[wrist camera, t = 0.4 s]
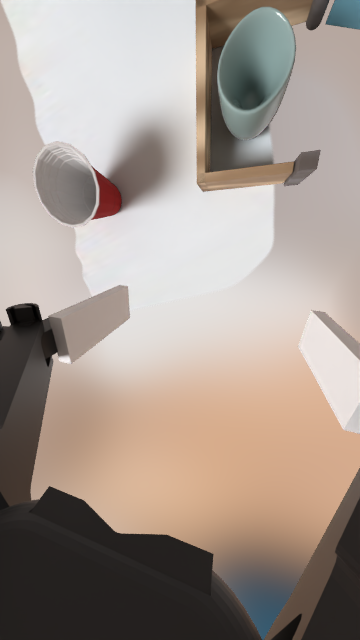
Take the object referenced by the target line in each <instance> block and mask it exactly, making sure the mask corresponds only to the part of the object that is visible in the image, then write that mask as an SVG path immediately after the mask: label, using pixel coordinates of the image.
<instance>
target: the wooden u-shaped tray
mask: <svg viewBox="0 0 360 640" xmlns="http://www.w3.org/2000/svg"><path fill="white" fill-rule="evenodd" d="M328 3H329V0H196V121H197V184H198V186H199V187H200V188H201V190H202V191H203V192H204V191H213V190H223V189H232V188H242V187H252V186H261V185H271V184H280V183H284V182H285V183H284V186H289V185H298V184H299V183H300V182H301V181H303V180H304V179H305V178H306V177H307V176H309V175H310V174H311V173H312V172H313V171H315V170H316V169H317V165H318V160H319V155H320V150H316V151H310V152H302V153H301V154H300V155H299V156H298V158H297V159H296V160H295V161H294V162H288V163H279V164H271V165H263V166H256V167H248V168H240V169H232V170H225V171H217V172H210V145H211V80H212V49H213V48H217V47H220V46H224V45H225V43H226V41H227V39H228V38H229V36H230V34H231V33H232V31H233V30H234V28H235V27H236V26H237V24H238V23H239V22H240V21H241V20H242V19H243V18H244V17H245V16H246V15H248V14H249V13H250V12H252V11H253V10H255V9H258V8H260V7H272V8H275V9H277V10H279V11H280V12H282V13H283V14H284V15H285V16H286V18H287V19H288V20H289V22H290V24H291V26H293V25H296V24H299V23H303V22H306V26H307V28H308V29H309V30H314V29H316V28H317V27H318V26H319V24H320V22H321V20H322V18H323V15H324V13H325V10H326V8H327V5H328Z"/></svg>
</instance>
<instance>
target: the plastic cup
mask: <svg viewBox="0 0 360 640" xmlns="http://www.w3.org/2000/svg"><path fill="white" fill-rule="evenodd" d="M33 176H34V185H35V190H36V192H37V195H38V197H39V200H40V203H41V204H42V206H43V207H44V208H45V210H46V211H47V212H48V214H49V215H50V216H51V217H52V218H53V219H55V220H56V221H57V222H59V223H60V224H62V225H66V226H69V227H73V228H74V227H79V226H83V225H86V224H87V223H88V222H89V221H90V220H93V219H98V218H103V217H107V216H112V215H114V214H116V213H117V212H118V211H119V209H120V207H121V200H122V199H121V195H120V192H119V191H118V189H117V187H116V186H115V185H114V184H112V183H111V182H110V181H109V180H108V179H107V178H105V177H104V176H103V175H102V174H100V173H99V172H98V171H97V170H95V169H94V168H93V167H92V166H91V165H90V163H89V161H88V160H87V158H86V157H85V155H84V154H82V153H81V152H80V151H79V150H77V149H76V148H75V147H74V146H72V145H71V144H67V143H63V142H59V141H56V142H53V143H50V144H47V145H45V146H44V147H43V148H42V150H41V151H40V152H39V154H38V155H37V156H36V160H35V165H34V169H33Z"/></svg>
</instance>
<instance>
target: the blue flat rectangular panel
mask: <svg viewBox="0 0 360 640" xmlns="http://www.w3.org/2000/svg"><path fill="white" fill-rule="evenodd" d="M326 24H328V25H334V26H340V27H347V28H354V29H360V0H335V1H334V4H333V6H332V9H331V11H330V14H329V16H328V19H327V21H326Z"/></svg>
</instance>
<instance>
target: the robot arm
mask: <svg viewBox="0 0 360 640" xmlns="http://www.w3.org/2000/svg"><path fill="white" fill-rule="evenodd" d="M6 311H7V314H8V317H9V320H10V323H11V325H10V327H6V326H2V324H1V322H0V640H262V639H261V637H260V635H259V633H258V631H257V628H256V627H255V625H254V623H253V622H252V620H251V618H250V616H249V615H248V613H247V611H246V610H245V608H244V607H243V605H242V604H241V602H240V601H239V600H238V598H237V597H236V595H235V594H234V592H233V591H232V590H231V589H230V588H229V587H228V585H227V584H226V583H225V582H224V581H223V580H222V579H221V578H220V577H219V576H218V575H217V574H216V573H215V572H214V571H212V564H213V554H212V553H210V552H207V551H205V550H202V549H200V548H197V547H195V546H193V545H190V544H188V543H185V542H183V541H180V540H178V539H176V538H173V537H171V536H168V535H155V534H120V533H117V532H115V531H113V529H112V528H111V527H110V526H109V525H108V524H107V523H106V522H105V521H104V520H103V519H102V518H101V517H100V516H99V515H98V514H97V513H96V512H95V511H94V510H93V509H92V508H91V507H90V506H89V505H88V504H87V503H86V502H85V501H84V500H82V499H79V498H77V497H74V496H72V495H69V494H67V493H65V492H62V491H60V490H57V489H55V488H52V487H50V486H49V487H48V489H47V490H46V492H45V493H44V494H43V496H42V497H41V498H40V500H32V501H31V494H30V489H31V481H32V475H33V470H34V464H35V459H36V453H37V447H38V442H39V437H40V431H41V426H42V420H43V415H44V409H45V404H46V398H47V392H48V388H49V382H50V377H51V371H52V366H53V359H52V355H53V354H55V353H58V356H59V361H61V362H65V363H69V364H72V363H73V362H74V361H75V360H77V359H78V358H79V357H81V356H82V355H83V354H84V353H86V352H87V351H88V350H90V349H91V348H92V347H93V346H95V345H96V344H97V343H98V342H100V341H101V340H102V339H104V338H105V337H106V336H107V335H109V334H110V333H111V332H112V331H114V330H115V329H116V328H118V327H119V326H120V325H121V324H123V323H124V322H125V321H126V320H128V319H129V318H130V313H129V296H128V286H121V285H119V286H116V287H114V288H112V289H109V290H107V291H105V292H103V293H100V294H98V295H96V296H93V297H91V298H89V299H87V300H84V301H82V302H80V303H78V304H76V305H73V306H71V307H68V308H66V309H64V310H61V311H59V312H57V313H54V314H52V315H50V316H49V318H47V319H45V320H42V318H41V314H40V310H39V307H38V305H37V304H33V303H25V304H18V305H14V306H11V307H8V308H7V309H6ZM298 347H299V349H300V351H301V352H302V354H303V356H304V358H305V360H306V362H307V363H308V365H309V367H310V369H311V371H312V373H313V375H314V376H315V378H316V380H317V382H318V384H319V386H320V388H321V389H322V391H323V393H324V395H325V397H326V399H327V401H328V402H329V404H330V406H331V408H332V410H333V412H334V414H335V415H336V417H337V419H338V421H339V423H340V424H341V426H342V428H343V430H346V431H350V432H354V433H359V434H360V343H358V342H357V341H356V340H355V339H354V338H353V337H352V336H351V335H350V334H348V333H347V332H346V331H345V330H344V329H343V328H342V327H341V326H339V325H338V324H337V323H336V322H335V321H334V320H332V318H331V317H329V316H328V315H327V314H326V313H325V312H320V311H312V310H311V312H310V315H309V318H308V321H307V323H306V326H305V329H304V332H303V334H302V337H301V340H300V343H299V345H298ZM264 640H360V468H359V470H358V472H357V474H356V476H355V478H354V480H353V481H352V483H351V485H350V487H349V489H348V491H347V493H346V494H345V496H344V498H343V500H342V502H341V504H340V506H339V508H338V509H337V511H336V513H335V515H334V517H333V519H332V520H331V522H330V524H329V526H328V528H327V530H326V532H325V533H324V535H323V537H322V539H321V541H320V543H319V544H318V547H317V548H316V550H315V552H314V554H313V556H312V557H311V559H310V561H309V563H308V565H307V567H306V569H305V571H304V573H303V574H302V576H301V578H300V580H299V582H298V583H297V585H296V587H295V589H294V591H293V593H292V594H291V596H290V598H289V600H288V601H287V603H286V605H285V606H284V608H283V609H282V610H281V612H280V614H279V615H278V616H277V618H276V620H275V622H274V623H273V625H272V626H271V628H270V630H269V632H268V633H267V635H266V637H265V639H264Z"/></svg>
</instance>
